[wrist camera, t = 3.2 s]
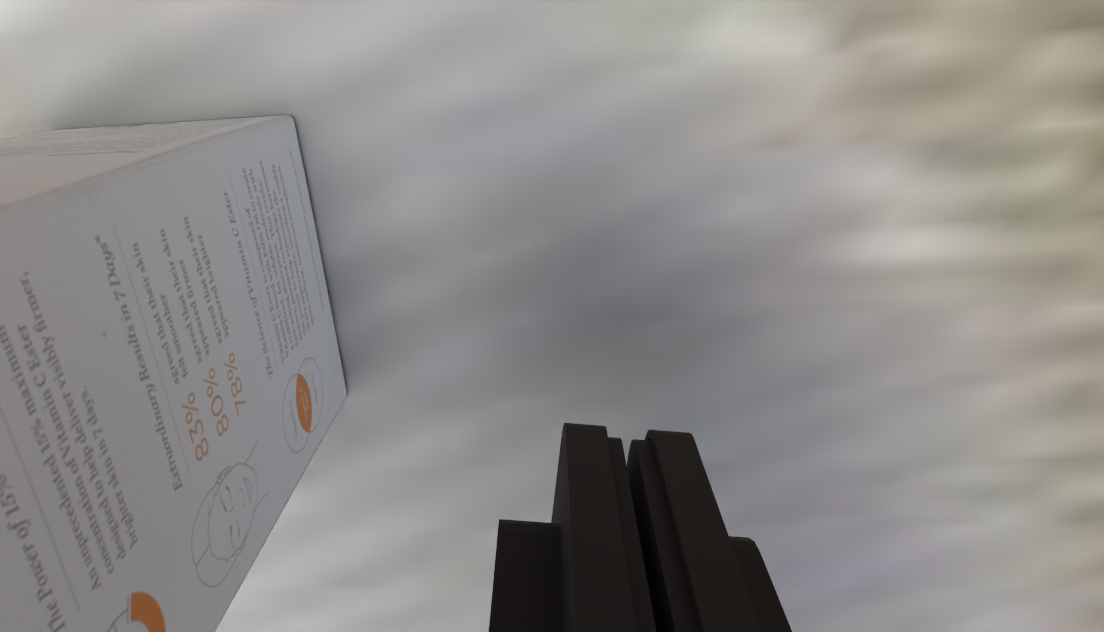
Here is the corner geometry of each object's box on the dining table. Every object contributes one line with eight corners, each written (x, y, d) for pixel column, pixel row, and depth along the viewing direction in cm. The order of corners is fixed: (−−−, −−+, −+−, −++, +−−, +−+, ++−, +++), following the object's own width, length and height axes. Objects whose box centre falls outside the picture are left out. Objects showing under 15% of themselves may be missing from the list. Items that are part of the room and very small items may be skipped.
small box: (45, 127, 18) (-988, 322, 6) (298, 110, 18) (-228, 272, 6) (135, 413, 21) (-433, 936, 9) (352, 400, 21) (80, 912, 9)
